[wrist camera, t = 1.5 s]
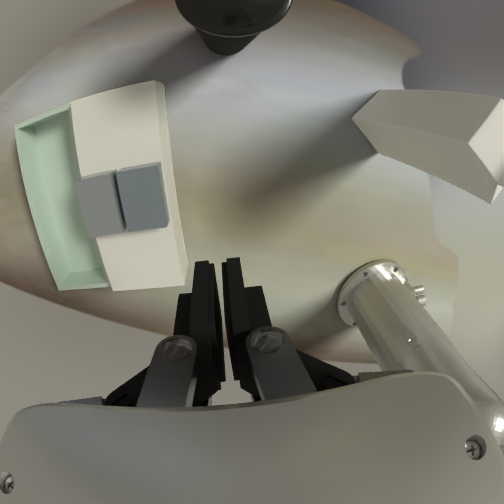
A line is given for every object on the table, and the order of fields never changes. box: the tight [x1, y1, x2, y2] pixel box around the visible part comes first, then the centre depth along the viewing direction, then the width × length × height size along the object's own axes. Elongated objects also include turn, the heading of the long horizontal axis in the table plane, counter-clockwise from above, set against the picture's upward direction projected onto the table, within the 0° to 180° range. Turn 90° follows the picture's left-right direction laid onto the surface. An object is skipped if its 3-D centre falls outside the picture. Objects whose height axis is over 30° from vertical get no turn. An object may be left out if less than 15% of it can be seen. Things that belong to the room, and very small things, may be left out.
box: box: [14, 103, 111, 291], centre depth 28 cm, size 9×22×4 cm, turn 3°
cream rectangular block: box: [71, 80, 188, 291], centre depth 28 cm, size 9×22×5 cm, turn 3°
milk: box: [351, 90, 504, 204], centre depth 20 cm, size 6×6×22 cm
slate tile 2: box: [74, 169, 127, 238], centre depth 25 cm, size 4×6×2 cm, turn 3°
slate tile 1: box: [116, 161, 170, 232], centre depth 26 cm, size 4×6×2 cm, turn 3°
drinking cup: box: [175, 0, 292, 55], centre depth 15 cm, size 8×8×20 cm
